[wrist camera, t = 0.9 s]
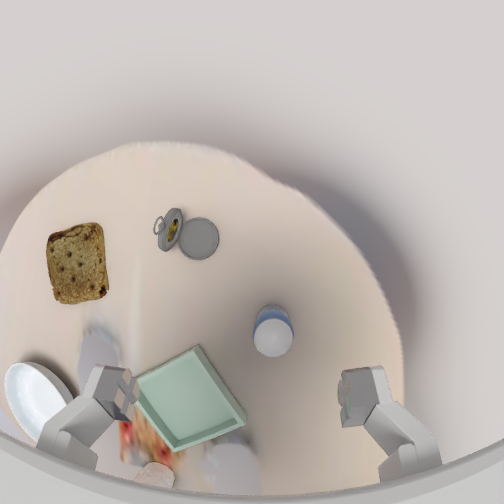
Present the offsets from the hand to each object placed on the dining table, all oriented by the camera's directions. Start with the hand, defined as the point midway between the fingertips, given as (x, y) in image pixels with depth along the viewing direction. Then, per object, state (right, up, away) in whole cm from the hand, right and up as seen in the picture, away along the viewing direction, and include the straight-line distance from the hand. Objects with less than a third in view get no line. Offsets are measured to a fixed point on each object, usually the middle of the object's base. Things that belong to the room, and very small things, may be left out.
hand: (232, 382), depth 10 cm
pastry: (-32, +3, +39) cm, 50 cm away
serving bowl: (-43, -27, +38) cm, 64 cm away
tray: (-11, -21, +36) cm, 43 cm away
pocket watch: (-9, +7, +38) cm, 39 cm away
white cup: (-18, -40, +36) cm, 57 cm away
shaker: (+4, -6, +36) cm, 37 cm away
